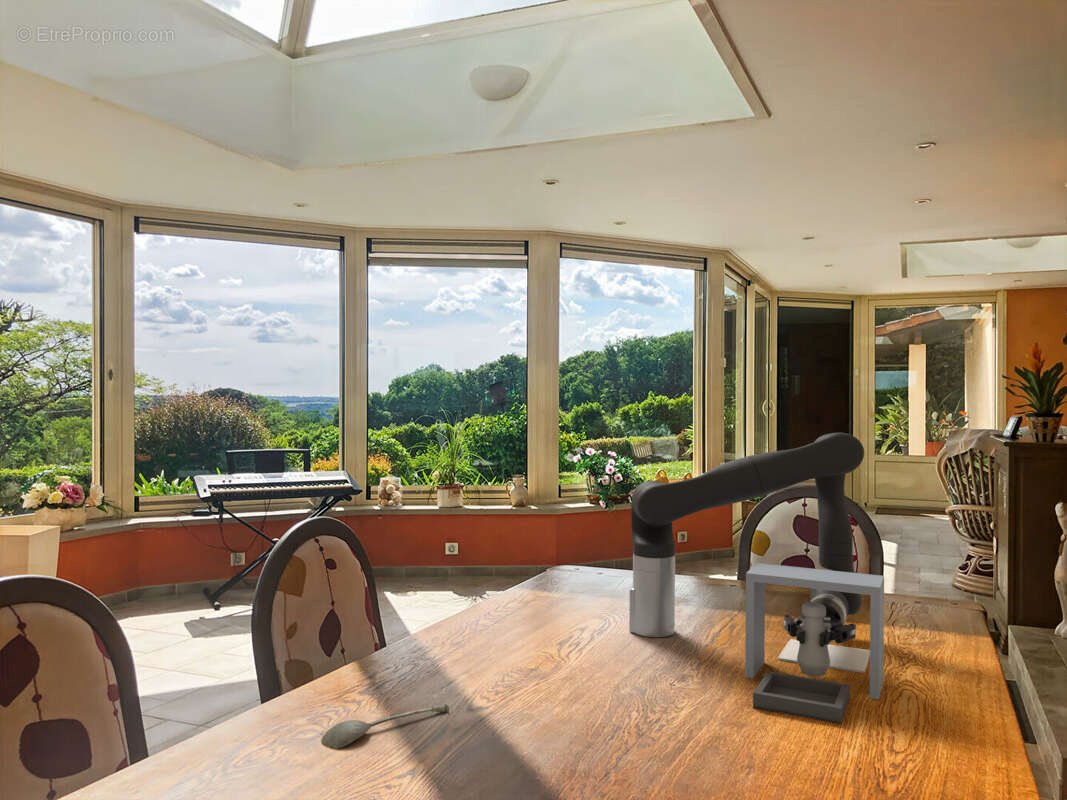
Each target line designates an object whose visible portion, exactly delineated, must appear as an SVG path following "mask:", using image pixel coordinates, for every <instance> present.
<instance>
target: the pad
mask: <svg viewBox="0 0 1067 800" xmlns="http://www.w3.org/2000/svg"><path fill="white" fill-rule="evenodd" d="M799 646H800V644H799V641H797V640H796V638H794V639H792V638H790V639H789V640H788V642H787V644H786V645H785V647H784V648H783V649H782V651H781V652H780V653H779V655H778V657H777V660H778V661H785V662H788V663H795V664H798V661H797V655H798V650H799ZM827 646H828V652H829V658H830V666H829V668H828V669H834V670H841V671H848V672H853V673H861V674H865V673H866V670H867V666H868V664H869V662H870V649H863V648H857V647H852V646H851V647H850V646H843V645H842V646H841V645H835V644H830V643H829V645H827Z"/></svg>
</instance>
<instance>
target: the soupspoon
mask: <svg viewBox="0 0 1067 800" xmlns="http://www.w3.org/2000/svg"><path fill="white" fill-rule="evenodd" d="M427 712H431V713H434V712H435V713H444V712H445V713H448V714H449V712H450V705H449V704H448V703H444V704H443V705H437V706H431V707H430V708H428V707H427V708H423V709H418V710H412V711H409V712H404V713H401V714H396V715H391V716H387V717H384V718H380V719H378V720H377V719H376V720H374V721H371V722H366V721H362V720H354V719H353V720H352V719H351V720H349V719H348V720H345V721H341V722H338V723H337V724H335V725H333V726H331V727H330V728H329V729H328V730H327V731H326V732H325V733H324V734H323V736H322V738H321V739H320V742H321V745H323V746H324V747H325V748H327V749H331V750H340V749H342V748H345V747H346V746H348V745H349V744H351V743H353V742H355V741H356V740H358V739H359V738H361V737H362V736H363V735H364V734H366V733H367V732H368V731H369V730H370V729H371V728H373V727H375V726H378V725H380V724H383V723H386V722H389V721H392V720H397V719H401V718H406V717H409V716H414V715H419V714H423V713H427Z"/></svg>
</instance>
